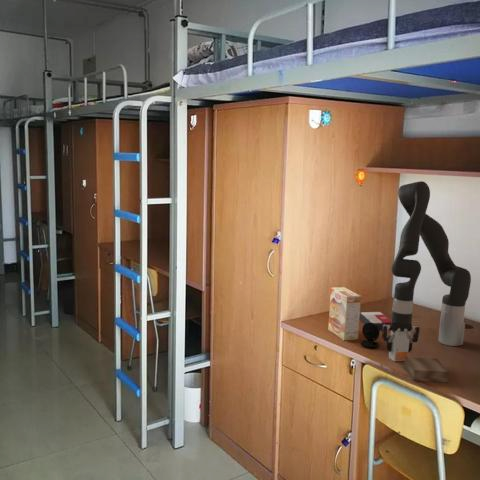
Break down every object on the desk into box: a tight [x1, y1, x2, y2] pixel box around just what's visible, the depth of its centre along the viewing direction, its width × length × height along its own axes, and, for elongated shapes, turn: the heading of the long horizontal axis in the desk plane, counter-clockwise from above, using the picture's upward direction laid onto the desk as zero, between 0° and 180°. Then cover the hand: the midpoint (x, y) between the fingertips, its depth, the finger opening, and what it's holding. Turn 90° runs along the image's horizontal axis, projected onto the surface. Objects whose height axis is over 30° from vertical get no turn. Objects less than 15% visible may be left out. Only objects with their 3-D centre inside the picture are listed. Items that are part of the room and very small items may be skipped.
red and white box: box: [359, 311, 391, 330], centre depth 256 cm, size 11×4×15 cm
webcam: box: [360, 322, 380, 350], centre depth 226 cm, size 8×8×10 cm
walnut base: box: [403, 357, 449, 383], centre depth 199 cm, size 12×12×4 cm
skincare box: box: [388, 329, 411, 362], centre depth 212 cm, size 6×4×12 cm
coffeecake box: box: [328, 286, 362, 341], centre depth 239 cm, size 15×7×20 cm, turn 18°
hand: (398, 351), depth 213 cm, fingers closed on skincare box, 7 cm apart
